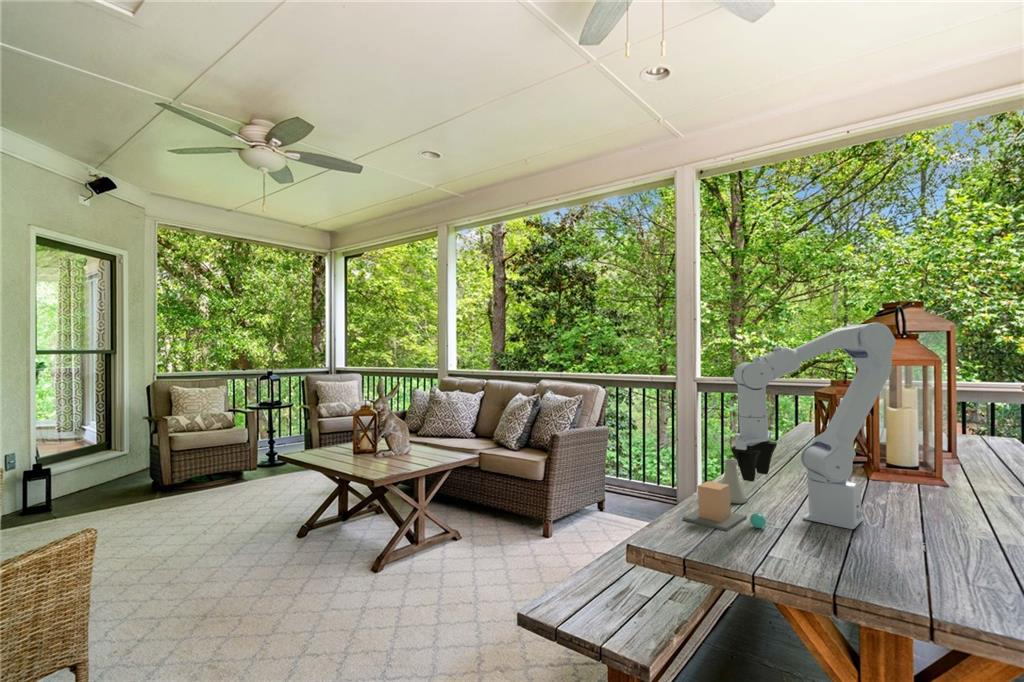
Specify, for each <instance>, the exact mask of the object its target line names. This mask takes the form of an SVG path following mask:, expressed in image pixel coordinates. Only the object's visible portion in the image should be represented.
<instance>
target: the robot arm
mask: <svg viewBox="0 0 1024 682" xmlns="http://www.w3.org/2000/svg"><path fill="white" fill-rule="evenodd" d="M896 344H897V340H896V338H895V335H893V332H892V331H891V329H890V327H889V326H887V325H886V324H884V323H882V322H881V323H880V322H872V323H865V324H862V323H861V324H847V325H845V326H842V327H838V328H834V329H832V330H830V331H828V332H826V333H824V334H821V335H819V336H818V337H816V338H814V339H811V340H809V341H807V342H805V343H803V344H801V345H799V346H797V347H794V348H790V347H788V346H783V347H781V346H776V347H773V348H772V350H773V351H771V352H769V353H767V354H764V355H761V356H758V355H757V356H753V357H752V362H749V361H748V362H747V361H746V362H741V363H739V364H738V365H737V366H736V368H734V373H733V374H732V380H733V382H734V383H735V384H736V385H737V404H738V405H737V406H738V407H737V408H738V409H737V410H738V425H739V426H738V427H739V429H738V430H739V433H734V438H736V439H735V440H734V441H735V443H734V444H735V446H731V448H730V450H731V453H732V455H733V456H734V458H735V460H737V465H738V467H739V471H740V473H741V477H742V480H743V481H747V482H751V483H752V482H754V481H755V479H756V474H760V475H768V474H769V471H770V466H771V461H772V457H773V454H774V452H775V450H776V448H777V446H778V443H777V442H776V441H772V432H771V431H769V425H768V424H769V423H768V409H767V408H768V406H767V404H768V403H767V391H766V387H767V386H768V385H769V384H770V382H772V381H775V380H777V379H779V378H781V377H784V376H786V375H789V374H791V373H793V372H795V371H797V370H799V368H800V366H801V364H802V363H803V362H805V361H807V360H811V359H813V358H815V357H819V356H821V355H823V354H825V353H829V352H830V351H833V350H835V349H836V350H837V349H840V350H842V351H844V353H846V355H848V356H849V357H850V359H851V360H853V362H854V363H855V367H856V368H857V372H856V373H855V375H854V377H853V379H852V381H851V383H850V385H849V386H848V388H847V390H846V392H845V394H844V396H843V397H842V399H841V401H840V403H839V405H838V406H837V409H836V410H835V412H834V414H833V416H832V418H831V419H830V422H829V423H828V425H827V427H826V428H825V430H824V431H823V432H822V433H820V434H818V435H817V436H815V437H814V438H813V440H812V442H811V443H810V444H809V445H807V446H805V447H804V448H803V450H802V451H801V454H800V459H801V460H800V461H801V463H802V465H803V467H804V468H806V470H807V473H806V476H807V491H808V492H807V493H808V494H807V495H808V496H807V497H808V512H807V513H805V514H804V515H803V516H802V519H803V520H806V521H811V522H817V523H822V524H825V525H830V526H834V527H839V528H845V529H848V530H854V529H856V528H857V526H858V525H859V524H860V523H861V522H863V520H864V518H863V509H862V508H863V507H862V495H861V494H862V491H861V487H860V486H861V485H859V484H858V483H856V482H852V481H850V480H848V479H849V477H850V476H851V475H852V473H853V470H854V469H853V466H854V465H853V462H854V460H855V457H856V456H857V455H856V454H857V453H856V451H855V447H854V445H853V443H854V441H855V439H856V437H857V435H858V434H859V432H860V430H861V429H862V426H863V425H864V423H865V421H866V419H867V417H868V416H869V414H870V412H871V410H872V408H873V407H874V404H875V403H876V400H877V399H878V397H879V396H880V393H881V391H882V390H883V388H884V386H885V384H886V382H887V381H888V378H889V377H890V375H891V373H892V369H893V368H892V367H893V364H892V363H893V349H894V348H895V345H896ZM756 472H757V473H756Z"/></svg>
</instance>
